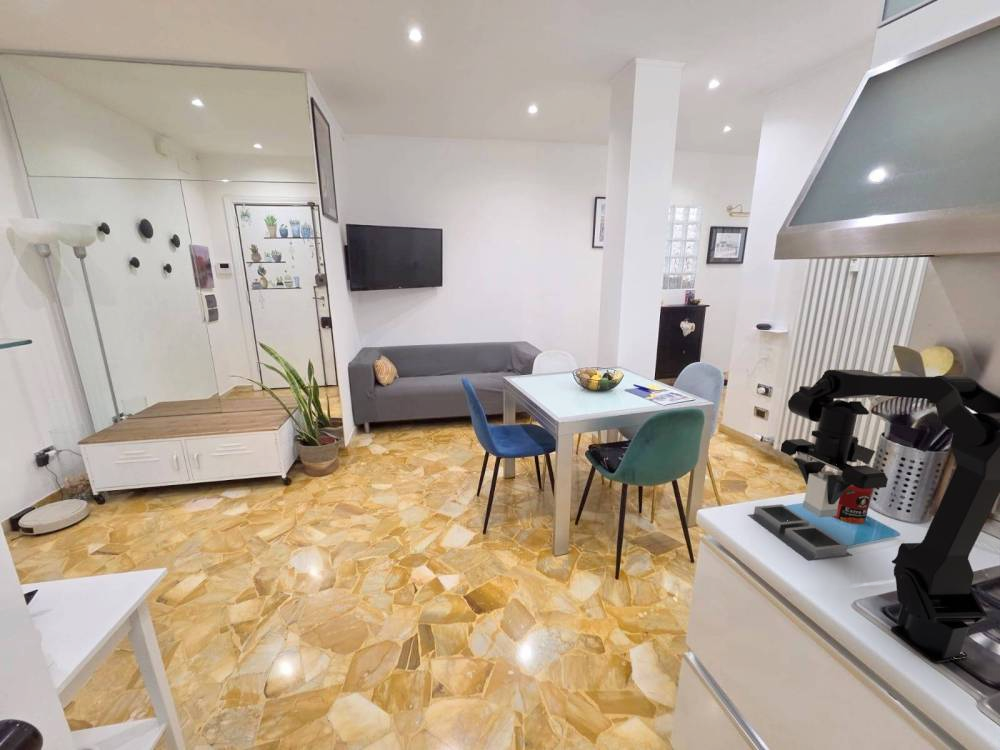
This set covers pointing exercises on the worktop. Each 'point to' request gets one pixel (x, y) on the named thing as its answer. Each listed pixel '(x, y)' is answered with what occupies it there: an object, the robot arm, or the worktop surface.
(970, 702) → the worktop surface
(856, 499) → the canned food
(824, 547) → the grey slotted tray
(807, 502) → the plug
